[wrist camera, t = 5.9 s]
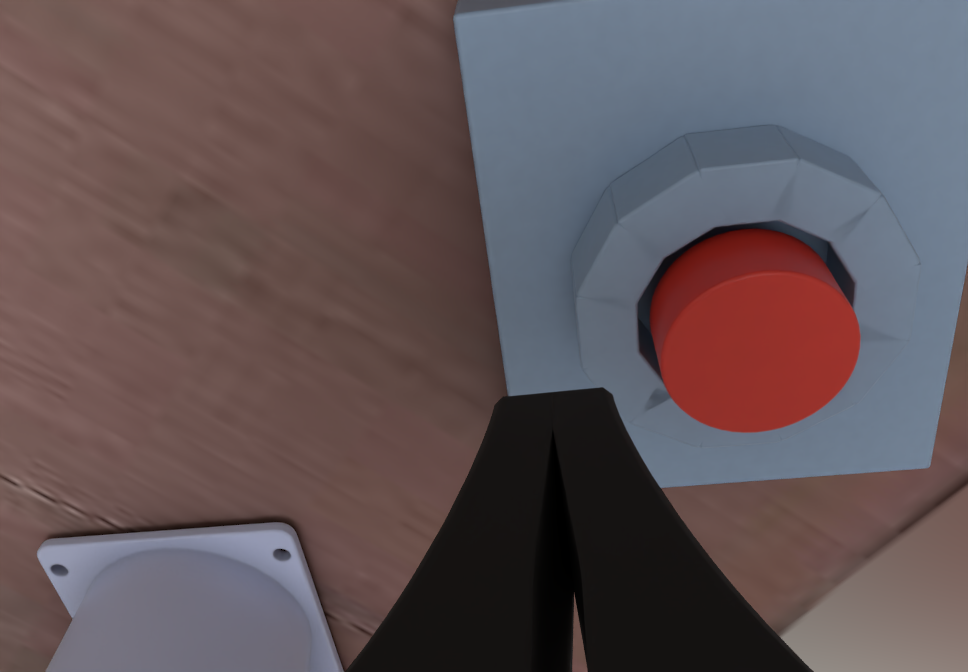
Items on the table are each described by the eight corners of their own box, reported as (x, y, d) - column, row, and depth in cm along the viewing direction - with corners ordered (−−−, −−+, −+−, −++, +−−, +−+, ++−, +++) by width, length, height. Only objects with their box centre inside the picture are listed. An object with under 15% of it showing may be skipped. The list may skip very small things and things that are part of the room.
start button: (826, 373, 18) (852, 426, 17) (651, 388, 19) (662, 441, 17) (840, 217, 16) (872, 261, 15) (646, 237, 17) (658, 281, 15)
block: (898, 413, 23) (962, 522, 20) (522, 444, 24) (522, 552, 21) (974, -80, 17) (1087, -42, 14) (458, -11, 18) (445, 40, 15)
